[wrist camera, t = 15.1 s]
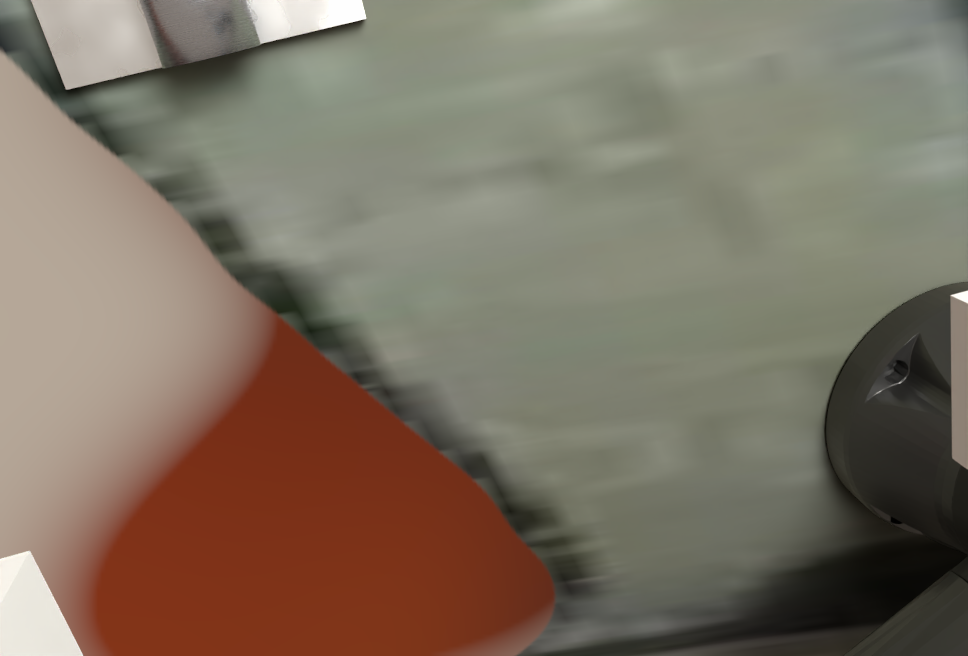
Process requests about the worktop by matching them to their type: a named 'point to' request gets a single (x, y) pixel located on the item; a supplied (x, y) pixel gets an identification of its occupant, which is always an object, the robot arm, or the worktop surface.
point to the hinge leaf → (172, 31)
